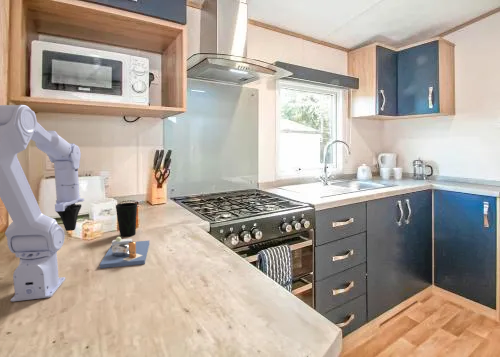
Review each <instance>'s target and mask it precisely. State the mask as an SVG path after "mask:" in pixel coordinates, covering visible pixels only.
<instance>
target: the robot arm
mask: <svg viewBox="0 0 500 357" xmlns="http://www.w3.org/2000/svg"><path fill="white" fill-rule="evenodd" d="M31 141H33V142H35V146H36V148H37V149H38V150H40V151H41V152H42V153H45V154H46V156H47V157H48V159H49V161H50V162H51V164H52V163H53V167H54V181H55V184H54V185H55V196H56V200H55V204H54V212H56V213H57V215H58V217H60V219H61V221H62V224H63V227H64V229H65V231H75V230H76V227H77V222H78V215H79V213H80V210H81V208H82V204H81V203H82V202H84V201H85V198H84V197H81V195H80V181H79V169H80V162H81V156H82V153H81V150H80V146H79V145H78V144H76V143H71V142H69V141H67V140H66V139H65V138H63V137H62V136H61V135H59V134H58V132H57V131H56V130H46V129H45V127H43V126H42V125H41V124H40V123H39V122H38V120H37V116H36V113H35V111H34V110H32V109H31V107H29V106H28V105H25V104H17V105H13V104H12V105H11V104H10V105H9V104H8V105H7V104H0V199H1V202H2V203H3V206H4V207H5V210H6V211H7V213H8V216H9V217H10V218H11V220H12V222H11V223H10V224H9V225H8V227H7V228H6V230H5V232H4V235H5V237H6V240H7V247H8V249H9V251H10V252H11V253H12V254H15V258H19V264H18V265H17V267H16V268H15V269H14V272H13V274H12V276H13V277H12V279H13V286H14V290H13V291H14V295H13V296H12V298H11V299H10V302H20V301H21V302H22V301H29V300H36V299H45V298H50V297H53V295H54V294H55V293H56V291H57V290H58V289H59V287H60V286H61V285H62V284H63V283H64V282H65V280H66V277H65V276H63V277H59V266H58V255H57V254H58V253H57V252H58V251H60V250H61V248H62V247H63V245H64V242H65V238H66V237H65V231H64V229H63V228H62V226H60V225H59V224H58V222H57V220H56V218H53V217H52V216H48V215H46V214H44V213H43V212H42V210H41V208H40V206H39V204H38V201H37V199H36V197H35V194H34V193H33V190H32V188H31V186H30V183H29V181H28V179H27V176H26V174H25V172H24V169H23V168H22V165H21V163H20V161H19V158H18V154H19V153H21V152H23V151H25V150H26V149H27V147H28V145H29V143H30V142H31ZM78 203H80V204H78Z"/></svg>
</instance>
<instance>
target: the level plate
mask: <svg viewBox="0 0 500 357" xmlns="http://www.w3.org/2000/svg"><path fill="white" fill-rule="evenodd" d="M129 242H133V238H123V239H122V237H121V236H117V237H116V238H115V239H113V240H112V241H111V245H110V247H109V249H108V250H107V252H106V254H105V255H104V257H103V258H102V260H101V261H100V264H99V269H107V268H118V267H129V266H139V265H145V264H146V259H147V257H148V251H149V248H150V240H139V241H135V242H136V257H135V258H129V256H126V255H124V256H113V255H112V246H113V245H115V244H119V243H129Z"/></svg>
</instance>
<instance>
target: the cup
mask: <svg viewBox="0 0 500 357" xmlns="http://www.w3.org/2000/svg"><path fill="white" fill-rule="evenodd" d="M115 212H116V217H117V218H116V219H117V224H118V229H119V230H118V231H119V237H121V238H129V237H133V236H135V235H136V233H137V232H136V231H137V216H138V214H137V212H138V204H137V203H135V202H123V203H118V204H115Z"/></svg>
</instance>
